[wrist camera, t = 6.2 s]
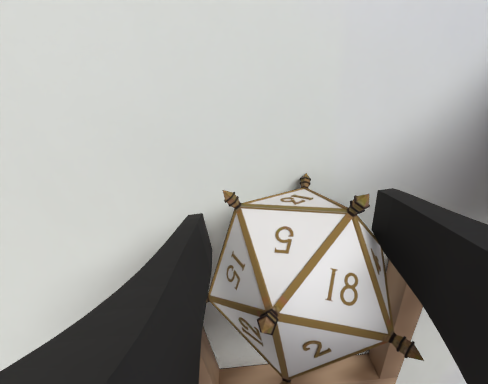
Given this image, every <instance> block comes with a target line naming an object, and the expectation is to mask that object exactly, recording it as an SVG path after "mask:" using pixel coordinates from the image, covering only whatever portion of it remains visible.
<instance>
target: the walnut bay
mask: <svg viewBox="0 0 488 384" xmlns="http://www.w3.org/2000/svg"><path fill="white" fill-rule="evenodd" d="M386 277H387V285H388V292H389V299H390V306H391V313H392V320H393V327H394V333H395V334H396V335H399V336H401V337H404V336H405V337H406V339H407V340H409V341H411V338H412V336H413V333H414V330H415V327H416V325H417V322H418V319H419V316H420V314H421V311H422V308H423V306H422V304H421V303H420V301H419V300H418V298H417V297H416V295H415V294H414V293H413V291H412V290H411V289H410V287H409V286H408V285H407V283H406V282H405V280H404V279H403V278H402V276H401V275H400V274H399V272H398V271H397V270H396V268H395V267H394V266H393V264H392V263H391V261H390V260H389V262H388V266H387V271H386ZM404 356H405V355H403V354H402V353H401V352H397V351H396V348H395V347H394V346H393V344H392V343H389V342H388V343H385V344H383V345H380V346H377V347H375V348H372V349H369V354H364V355H354V356H351V357H349V358H346V359H343V360H341V361H338V362H336V363H333V364H330V365H328V366H325V367H322V368H320V369H317V370H315V371H312V372H309V373H307V374H304V375H302V376H299V377H296V378H294V379H291V384H395V383H396V380H397V377H398V374H399V372H400V369H401V366H402V363H403V361H404V358H405V357H404ZM281 381H282V377H281V376H280V375H279V374H278V373H277V372H276V371H275V370H274V369H273V368H272V366H271V365H270V364H265V365H256V366H246V367H236V368H226V369H219V367H218V364H217V361H216V359H215V356H214V354H213V351H212V348H211V346H210V343H209V341H208V338H207V335H206V333H205V330H204V328H202V338H201V353H200V370H199V384H281Z"/></svg>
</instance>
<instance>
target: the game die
mask: <svg viewBox="0 0 488 384" xmlns="http://www.w3.org/2000/svg"><path fill="white" fill-rule="evenodd" d="M300 180H301V182H300V184H301V188H300V189H296V190H292V191H288V192H285V193H281V194H277V195H273V196H269V197H265V198H261V199H257V200H253V201H249V202H245V203H240V202H239V200H238V198H239V197H238V196H236V195H235V192H233V193H232V192H228V191H224V190H223V193H224V197H225V200H224V201H225V203H226V202H227V203H228V205H229V206H232V207H233V208H235V209H234V212H233V216H232V219H231V222H230V225H229V228H228V232H227V235H226V238H225V241H224V245H223V248H222V251H221V254H220V257H219V261H218V264H217V267H216V270H215V273H214V277H213V280H212V283H211V286H210V289H209V293H208V296H207V302H211V303H212V304H213V305H214V306H215V307H216V308H217V309H218V311H219V312H220V313H221V314H222V315H223V316H224V317H225V318H226V319H227V320H228V321H229V322H230V323H231V324H232V325H233V326H234V327H235V328H236V330H237V331H238V332H239V333H240V334H241V335H242V336H243V337H244V338H245V339H246V340H247V341H248V342H249V343H250V344H251V345H252V346H253V347H254V349H255V350H256V351H257V352H258V353H259V354H260V355H261V356H262V357H263V358H264V359H265V360H266V361H267V362H268V363H269V364H270V365H271V366H272V368H273V369H274V370H275V371H276V372H277V373H278V374H279V375H280V376H281V377H282V381H281V384H291V379H294V378H296V377H299V376H302V375H304V374H307V373H309V372H312V371H315V370H317V369H320V368H322V367H325V366H328V365H330V364H333V363H336V362H338V361H341V360H343V359H346V358H349V357H351V356H354V355H356V354H359V353H362V352H364V351H367V350H369V349H372V348H375V347H377V346H380V345H383V344H385V343H388V342H389V343H392V344H393V346H394V347H395V348H396V351H397V352H401V353H402V354H403V355H405V356H404V357H405V358H407V357H409V358H414V359H418V360H423V358H422V356H421V355H420V353H419V351H418V350H417V348H416V347H415V345H414V343H415V342H410V341H409V340H407V339H406V337H405V336H404V337H401V336H399V335H396V334H395V333H394V327H393V320H392V313H391V306H390V299H389V292H388V285H387V277H386V270H385V263H384V256H383V250H382V248H381V246H380V245H379V243H378V241H377V239H376V237H375V236H374V235H373V233H372V232H371V231H370V230H369V229H368V227H367V226H366V225H365V224H364V223H363V222H362V220H361V219H360V218H359V217H358V216H357V214H358V213H362V212H364V211H365V210H364V209H366V208H368V207H370V205H369V194H366V195H361V196H354V200H353V201H350V207H349V208H347V207H345V206H343V205H341V204H339V203H337V202H335V201H333V200H331V199H329V198H327V197H324V196H322V195H320V194H318V193H316V192H314V191H312V190H310V189H308V186H309V185H310V180H311V178H309V176H308V175H307V173H306V174H305V175H304V176H303V177H302V178H300ZM207 302H206V303H207ZM423 361H424V360H423Z"/></svg>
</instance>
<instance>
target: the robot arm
mask: <svg viewBox="0 0 488 384" xmlns="http://www.w3.org/2000/svg"><path fill="white" fill-rule="evenodd" d="M372 231H373V233H374V235H375V237H376V239H377V241H378V243H379V245H380V246H381V248H382V250H383V252H384V253H385V254H386V256H387V257H388V259H389V260H390V261H391V263H392V264H393V266H394V267H395V268H396V270H397V271H398V272H399V274H400V275H401V276H402V278H403V279H404V280H405V282H406V283H407V285H408V286H409V287H410V289H411V290H412V291H413V293H414V294H415V295H416V297H417V298H418V300H419V301H420V303H421V304H422V306H423V307H424V308H425V310H426V312H427V313H428V315H429V317H430V318H431V320H432V322H433V323H434V325H435V327H436V328H437V330H438V332H439V333H440V335H441V337H442V339H443V340H444V342H445V344H446V346H447V348H448V349H449V351H450V353H451V355H452V357H453V358H454V360H455V362H456V364H457V366H458V367H459V369H460V371H461V373H462V375H463V377H464V379H465V381H466V383H467V384H488V225H487V224H484V223H481V222H479V221H476V220H473V219H470V218H468V217H465V216H462V215H460V214H457V213H455V212H452V211H450V210H447V209H445V208H442V207H440V206H437V205H435V204H432V203H430V202H428V201H425V200H423V199H420V198H418V197H415V196H413V195H410V194H408V193H405V192H402V191H400V190H397V189H385V190H378V193H377V199H376V205H375V212H374V218H373V224H372ZM211 269H212V247H211V243H210V240H209V236H208V232H207V229H206V225H205V221H204V218H203V214H202V213H201V214H193V215H188V216H187V217H186V218H185V220H184V221H183V222H182V223H181V224H180V226H179V227H178V228H177V229H176V231H175V232H174V233H173V234H172V235H171V237H170V238H169V239H168V240H167V241H166V243H165V244H164V245H163V246H162V247H161V248H160V249H159V250H158V251H157V253H156V254H155V255H154V256H153V257H152V258H151V259H150V260H149V261H148V262H147V263H146V264H145V265H144V266H143V267H142V268H141V269H140V270H139V271H138V272H137V273H136V274H135V275H134V276H133V277H132V278H131V279H130V280H129V281H127V282H126V283H125V284H124V285H123V286H122V287H121V288H120V289H118V290H117V291H116V292H115V293H114V294H112V295H111V296H110V297H109V298H107V299H106V300H105V301H104V302H102V303H101V304H100V305H98V306H97V307H96V308H95V309H93V310H92V311H91V312H90V313H88V314H87V315H86V316H84V317H83V318H81V319H80V320H79V321H77V322H76V323H75V324H73V325H72V326H70V327H69V328H67V329H66V330H64V331H63V332H62V333H60V334H59V335H57V336H56V337H54V338H53V339H51V340H50V341H48V342H47V343H45V344H44V345H42V346H41V347H39V348H37V349H36V350H34V351H33V352H31V353H29V354H28V355H26V356H25V357H23V358H21V359H20V360H18V361H17V362H15V363H13V364H12V365H10V366H9V367H7V368H5V369H4V370H2V371H0V384H199V370H200V353H201V338H202V328H203V320H204V314H205V308H206V302H207V296H208V290H209V283H210V277H211Z"/></svg>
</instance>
